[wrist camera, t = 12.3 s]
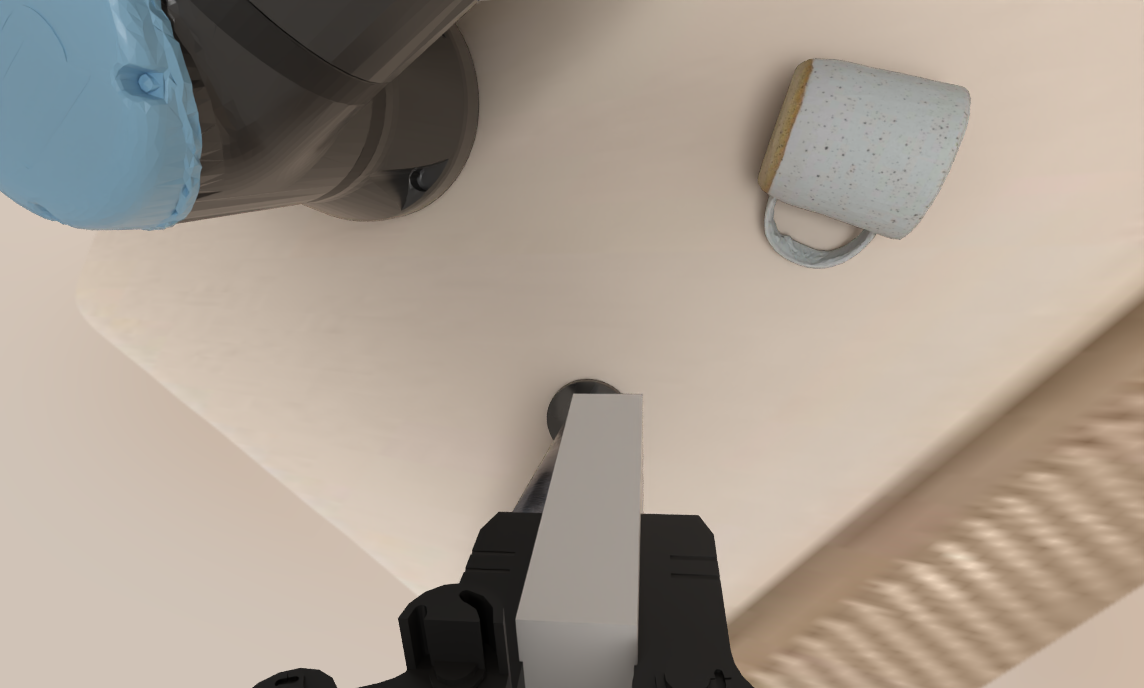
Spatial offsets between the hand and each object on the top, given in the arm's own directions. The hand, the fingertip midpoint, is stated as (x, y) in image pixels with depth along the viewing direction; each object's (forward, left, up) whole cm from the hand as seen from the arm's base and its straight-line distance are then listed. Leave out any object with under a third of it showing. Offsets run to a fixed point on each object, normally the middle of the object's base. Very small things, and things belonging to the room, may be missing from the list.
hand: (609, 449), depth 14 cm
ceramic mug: (+8, +5, -28) cm, 30 cm away
